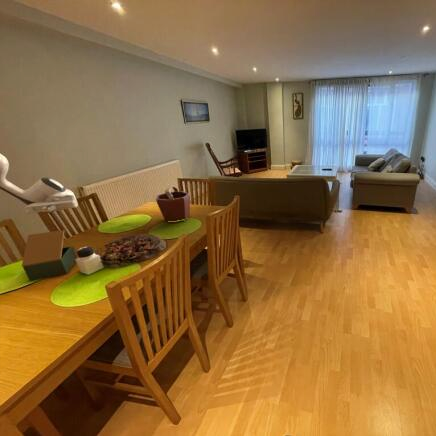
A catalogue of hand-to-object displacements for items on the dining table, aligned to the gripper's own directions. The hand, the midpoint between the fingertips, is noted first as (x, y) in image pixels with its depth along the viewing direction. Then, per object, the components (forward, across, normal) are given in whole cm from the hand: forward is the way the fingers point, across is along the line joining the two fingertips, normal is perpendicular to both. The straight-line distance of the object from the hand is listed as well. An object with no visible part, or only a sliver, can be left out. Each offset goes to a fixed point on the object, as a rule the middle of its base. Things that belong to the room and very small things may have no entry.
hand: (46, 210), depth 121 cm
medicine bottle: (+22, +17, +27) cm, 39 cm away
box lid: (+14, 0, +14) cm, 20 cm away
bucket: (-34, +56, +28) cm, 71 cm away
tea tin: (+13, 0, +27) cm, 30 cm away
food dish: (+10, +33, +27) cm, 44 cm away
